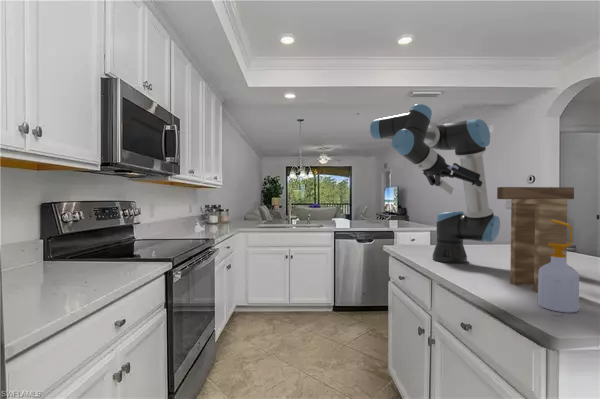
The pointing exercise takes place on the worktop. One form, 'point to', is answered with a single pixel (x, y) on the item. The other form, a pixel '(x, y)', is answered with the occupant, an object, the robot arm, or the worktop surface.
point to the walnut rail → (535, 192)
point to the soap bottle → (558, 281)
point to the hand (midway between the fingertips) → (467, 190)
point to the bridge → (535, 236)
